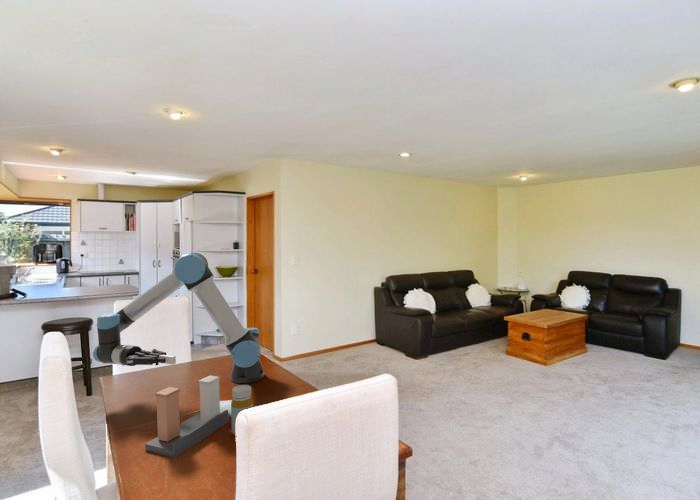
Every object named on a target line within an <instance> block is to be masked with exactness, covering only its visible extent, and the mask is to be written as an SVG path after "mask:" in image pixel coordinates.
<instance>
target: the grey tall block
mask: <svg viewBox="0 0 700 500" xmlns="http://www.w3.org/2000/svg"><path fill="white" fill-rule="evenodd" d="M220 380H221V377H220V376H215V375H208V376H206V377H202V378H201V379H199V380H198V384H199V406H200V407H199V410H200V412H199V413H200V415H201V424H204V423H206V422H207V421H209V420H210V419H212V418H214V417H215V416H217V415H219V414H220V401H221V399H220V397H221V396H220Z"/></svg>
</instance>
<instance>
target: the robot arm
mask: <svg viewBox="0 0 700 500" xmlns="http://www.w3.org/2000/svg"><path fill="white" fill-rule="evenodd" d="M214 278H215V275H214V274H213V272H212V270H211V269H210V267H209V262H208V259H207V258H206V257H205V256H204V254H203V255H202V254H201V253H199V252H189V253H185V254H183V255H181V256H180V257H178V258H177V260H176V261H175V264H174V267H173V268H172V271H171V272H169V274H167V275H166V276H164V277H163V278H161V279H160V280H159V281H158V282H157V283H155V284H153V286H151V287H149V288H148V289H147V290H146V291H144V292H143V293H142V294H140V295H139V296H138V297H136V298H135V299H133V300H132V301H131V302H130V303H128V304H127V305H125V306H124V307H123V308H121V309H120V310H118V311H117V312H116V313H115V312H112V313H111V312H110V313H105V314H101V315H98V316H97V317H96V328H97V329H96V330H97V337H98V338H97V341H98V344H97V345H96V346H95V347H94V350H93V352H92V356H93V359H94V360H95V361H97V362H99V363H102V364H111V365H120V366H122V367H125V366H126V367H127V366H129V367H135V366H139V365H140V366H144V365H145V366H152V365H154V364H155V366H159V365H160V364H163V365H164V364H165V365H175V364H176V363H177V360H176V355H170V354H169V355H168V354H167V352H165V351H162V350H158V349H156V348H153V349H152V350H151V351H149V350H145V349H142V348H141V347H140V346H138V345H129V344H121V341H122V340H121V333H122V332H123V331H124V330H126V329H128V328H129V327H130V326H131V325H133V324H134V323H135V322H136V321H137V320H139V319H140V318H141V317H143V316H144V315H145V314H147V313H148V312H149V311H151V310H152V309H153V308H155V307H156V306H157V305H159V304H160V303H161V302H163V301H164V300H166V299H167V298H168V297H169V296H171V295H173V293H175V292H176V291H177V290H179V289H180V288H182V287H183V286H185V288H186V289H187V291H188V292H192V293H194V294H195V296H196V298H198V300H199V301H200V303H201V304H202V306H203V307H204V309H205V311H206V312H207V313H208V315H209V317H210V318H211V319H212V321H213V322H214V324H215V326H216V327H217V329H218V331H220V333H221V335H222V336H223V338H224V340H225V341H224V346H225V348H226V349H227V351H228V352H229V354H230V356H231V360H232V361H233V365H232V368H231V373H230V381H231V382H233V383H236V384H250V383H254V382H259V381H261V380H262V379H264V377H265V370H264V368H263V365H262V361H261V359H260V358H261V345H260V330H259V328H258V327H244V326H243V325H242V323H241V322H240V320H239V318H238V316H237V315H236V314H235V311H233V309H232V308H231V307H230V305H229V303H228V302H227V300H226V298H225V297H224V295H223V294H222V293H221V291H220V290H219V288H218V286H217V285H216V283H215V282H214Z"/></svg>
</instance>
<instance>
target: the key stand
mask: <svg viewBox="0 0 700 500" xmlns="http://www.w3.org/2000/svg"><path fill="white" fill-rule="evenodd" d="M228 423H229V416H228V410H225V411H223V412H222V413H220V414H219V415H217V416H215V417H214V418H212V419H210V420H209V421H207V422H206V423H204V424H201V415H200V412H198V413H196V414H195V415H193V416H191V417H189V418H188V419H186V420H184V421H183V422H181V423H180V434H179V435H178V436H176V437H175V438H173V439H171V440H170V441H168V442H167V441H162V440H158V436H156V437H154V438H152V439H151V440H149V441H148V442H146V443H144V447H145V448H144V449H145V451H148V452H151V453H154V454H158V455H162V456H166V457H170V458H175V459H176V458H177V457H178V456H180V455H182V454H183V453H184V452H186V451H187V450H189V449H190V448H192V447H193V446H195V445H197V444H198V443H199V442H201V441H202V440H204V439H205V438H207V437H208V436H210V435H211V434H213V433H215V432H216V431H218V429H220V428H222V427H223V426H225V425H226V424H228Z"/></svg>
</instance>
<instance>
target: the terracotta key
mask: <svg viewBox="0 0 700 500" xmlns="http://www.w3.org/2000/svg"><path fill="white" fill-rule="evenodd" d="M179 392H180V388H178V387H172V386H168V387H166V388H164V389H162V390H159V391H157V392H155V396H156V419H157V421H156V422H157V437H158V440H162V441H167V442H168V441H170V440H171V439H173V438H175V437H176V436H178V435H179V434H180V424H181V423H180V395H179Z"/></svg>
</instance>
